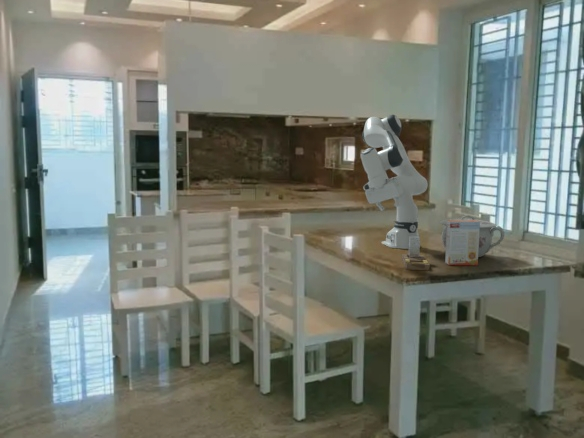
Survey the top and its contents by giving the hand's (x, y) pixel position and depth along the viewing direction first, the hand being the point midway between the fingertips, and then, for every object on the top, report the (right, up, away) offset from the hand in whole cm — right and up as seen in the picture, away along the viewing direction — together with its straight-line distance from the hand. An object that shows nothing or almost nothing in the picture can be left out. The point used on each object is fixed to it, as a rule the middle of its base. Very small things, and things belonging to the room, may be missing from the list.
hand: (390, 208), depth 273 cm
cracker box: (+33, -26, -1) cm, 42 cm away
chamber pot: (+42, -24, +20) cm, 52 cm away
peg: (+11, -25, +2) cm, 28 cm away
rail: (+11, -26, -4) cm, 28 cm away
